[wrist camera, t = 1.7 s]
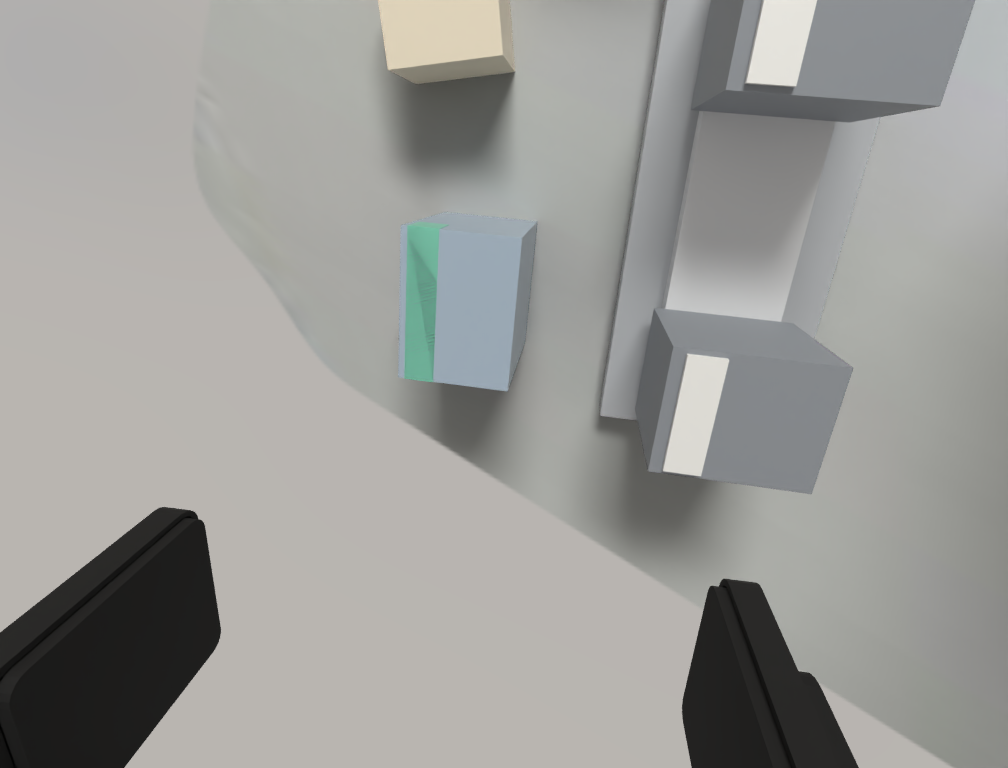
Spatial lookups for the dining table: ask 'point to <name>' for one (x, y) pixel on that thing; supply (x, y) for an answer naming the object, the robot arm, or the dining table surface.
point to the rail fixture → (756, 222)
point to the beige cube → (447, 38)
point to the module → (464, 298)
